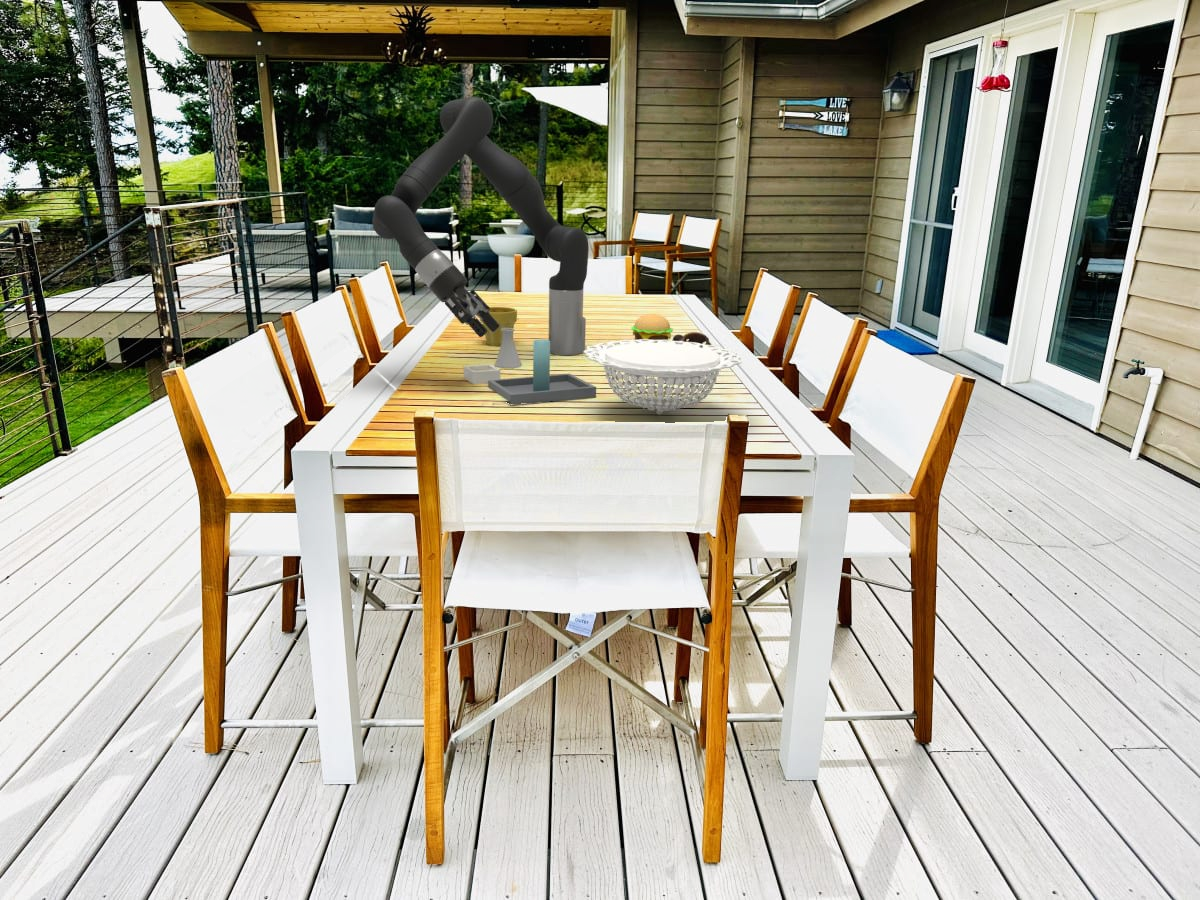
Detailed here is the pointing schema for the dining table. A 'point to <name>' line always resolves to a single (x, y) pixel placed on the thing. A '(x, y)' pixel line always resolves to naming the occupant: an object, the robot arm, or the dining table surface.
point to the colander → (661, 370)
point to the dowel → (541, 365)
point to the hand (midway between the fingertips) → (490, 331)
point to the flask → (507, 351)
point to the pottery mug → (693, 338)
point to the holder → (481, 373)
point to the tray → (558, 391)
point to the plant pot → (500, 323)
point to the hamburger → (652, 328)
